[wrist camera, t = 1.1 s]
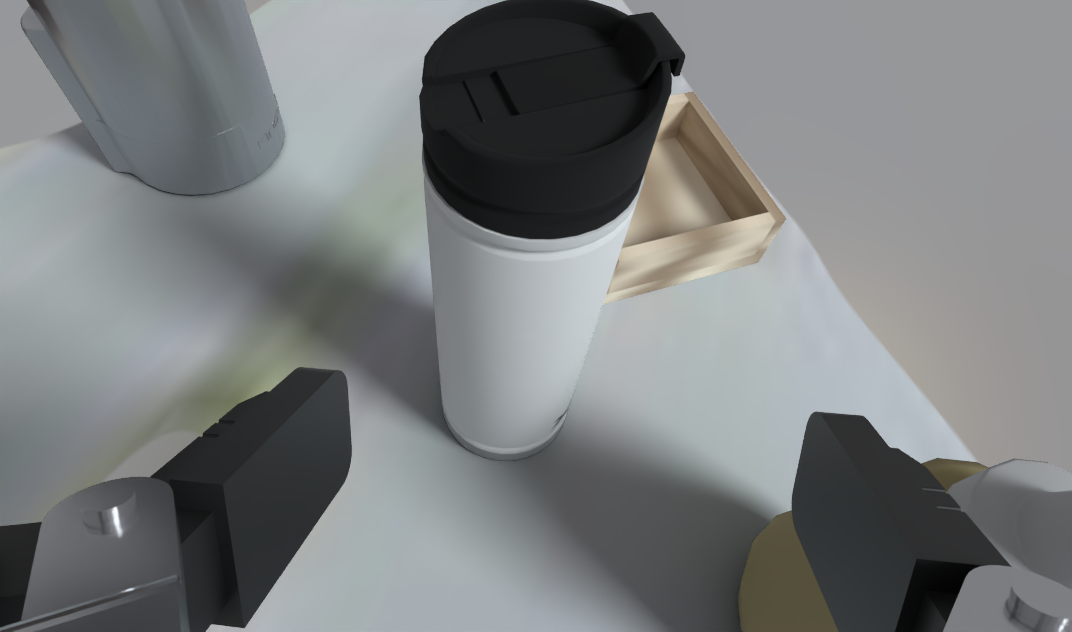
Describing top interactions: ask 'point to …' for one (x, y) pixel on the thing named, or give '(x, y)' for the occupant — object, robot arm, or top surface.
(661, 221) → the birch dock
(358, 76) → the top surface
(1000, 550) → the squeeze bottle
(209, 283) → the top surface
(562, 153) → the travel mug
